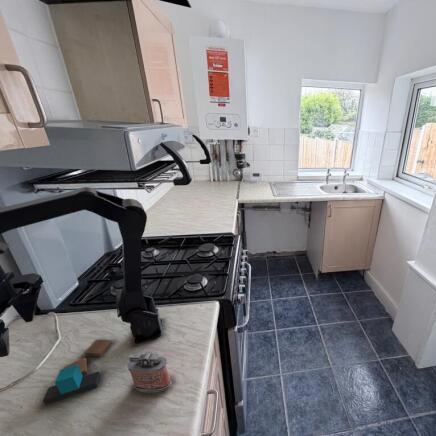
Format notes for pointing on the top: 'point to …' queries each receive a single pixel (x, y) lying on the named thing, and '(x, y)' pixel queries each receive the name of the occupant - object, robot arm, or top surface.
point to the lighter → (149, 372)
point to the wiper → (70, 384)
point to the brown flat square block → (98, 348)
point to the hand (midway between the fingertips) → (18, 337)
